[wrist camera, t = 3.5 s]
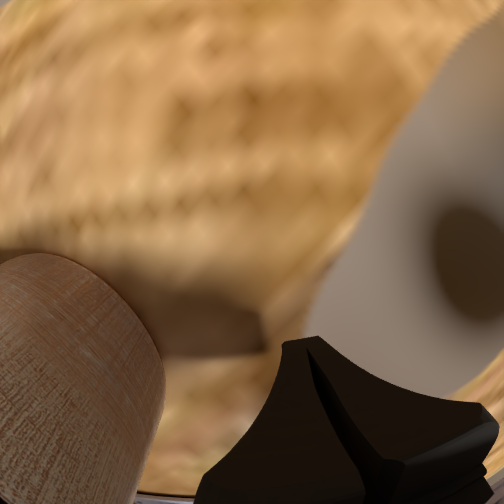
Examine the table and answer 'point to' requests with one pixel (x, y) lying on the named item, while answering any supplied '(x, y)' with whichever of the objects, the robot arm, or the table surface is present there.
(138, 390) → the planter
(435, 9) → the table surface
